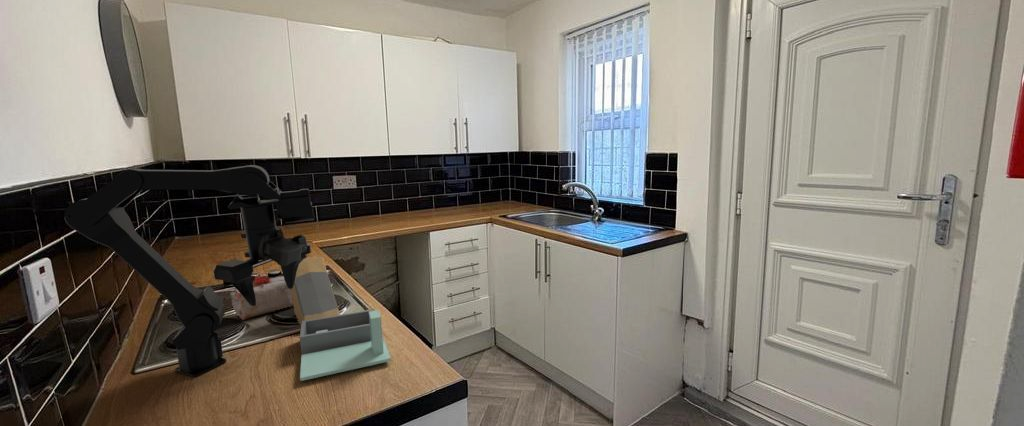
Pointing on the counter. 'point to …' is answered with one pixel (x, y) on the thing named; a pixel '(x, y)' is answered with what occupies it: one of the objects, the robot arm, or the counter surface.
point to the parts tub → (334, 331)
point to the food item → (263, 297)
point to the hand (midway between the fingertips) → (272, 296)
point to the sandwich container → (313, 291)
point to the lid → (347, 354)
